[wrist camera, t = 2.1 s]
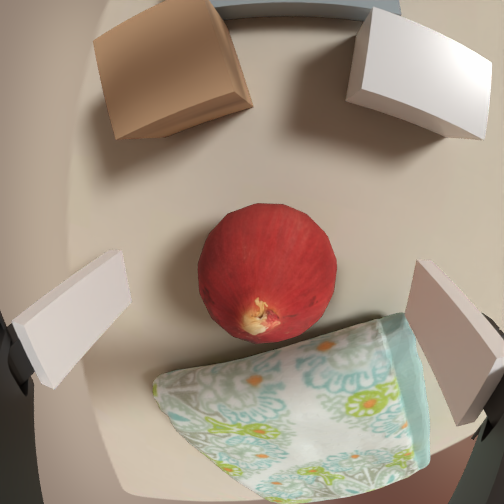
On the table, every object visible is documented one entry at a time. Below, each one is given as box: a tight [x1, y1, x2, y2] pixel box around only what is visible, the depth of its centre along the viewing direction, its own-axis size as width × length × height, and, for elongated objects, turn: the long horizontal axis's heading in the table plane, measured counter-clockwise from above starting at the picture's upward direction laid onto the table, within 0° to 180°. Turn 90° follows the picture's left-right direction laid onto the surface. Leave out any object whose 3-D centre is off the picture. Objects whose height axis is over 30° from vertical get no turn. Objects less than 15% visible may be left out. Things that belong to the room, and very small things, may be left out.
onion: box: [198, 203, 337, 344], centre depth 12 cm, size 6×6×8 cm
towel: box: [153, 313, 430, 504], centre depth 19 cm, size 18×21×5 cm
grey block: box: [345, 7, 492, 140], centre depth 10 cm, size 4×6×4 cm, turn 80°
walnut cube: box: [93, 0, 253, 140], centre depth 11 cm, size 5×5×5 cm
